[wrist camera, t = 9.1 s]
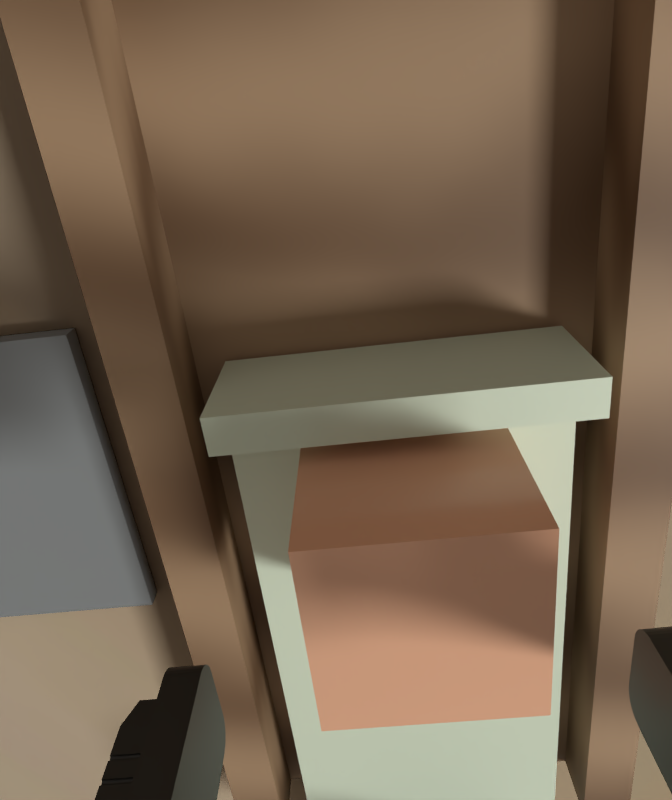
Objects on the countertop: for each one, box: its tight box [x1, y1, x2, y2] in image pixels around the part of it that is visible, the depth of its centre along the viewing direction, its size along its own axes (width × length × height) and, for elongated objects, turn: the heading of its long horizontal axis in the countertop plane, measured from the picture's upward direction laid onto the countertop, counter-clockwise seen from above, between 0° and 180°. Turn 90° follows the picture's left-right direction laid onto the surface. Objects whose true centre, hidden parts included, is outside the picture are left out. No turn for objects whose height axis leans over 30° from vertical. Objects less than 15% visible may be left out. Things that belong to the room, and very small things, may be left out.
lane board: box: [0, 0, 672, 800], centre depth 18 cm, size 30×14×3 cm, turn 7°
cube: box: [288, 428, 559, 731], centre depth 15 cm, size 5×5×5 cm
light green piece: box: [200, 326, 613, 800], centre depth 17 cm, size 22×9×9 cm, turn 7°
